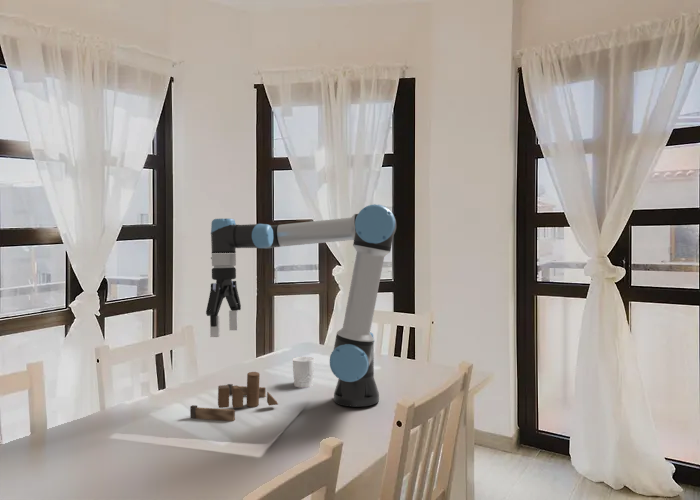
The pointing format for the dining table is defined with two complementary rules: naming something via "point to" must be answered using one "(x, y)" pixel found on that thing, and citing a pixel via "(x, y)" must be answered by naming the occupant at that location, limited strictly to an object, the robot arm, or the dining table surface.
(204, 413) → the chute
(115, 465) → the dining table surface
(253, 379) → the wooden block set
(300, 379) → the white cup
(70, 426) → the dining table surface
